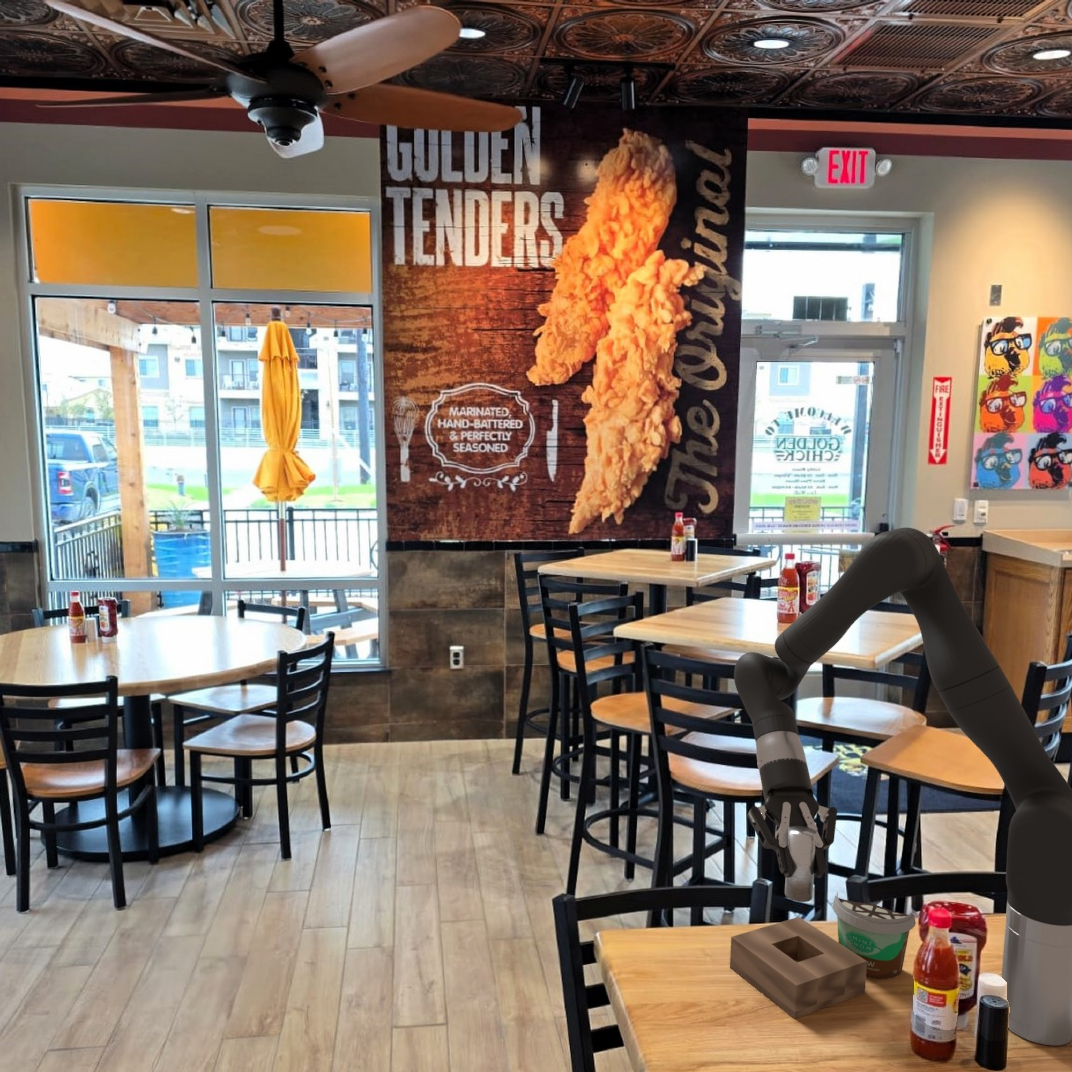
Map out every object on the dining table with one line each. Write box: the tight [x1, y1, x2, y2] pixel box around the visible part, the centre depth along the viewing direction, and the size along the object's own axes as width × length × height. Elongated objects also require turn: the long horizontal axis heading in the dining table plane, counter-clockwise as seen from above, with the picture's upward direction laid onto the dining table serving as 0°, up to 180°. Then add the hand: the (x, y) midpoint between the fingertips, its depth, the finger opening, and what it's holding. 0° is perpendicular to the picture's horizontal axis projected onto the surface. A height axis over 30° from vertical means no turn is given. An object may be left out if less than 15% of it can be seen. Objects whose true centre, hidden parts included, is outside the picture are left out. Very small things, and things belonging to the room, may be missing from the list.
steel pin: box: [784, 825, 816, 903], centre depth 133 cm, size 4×4×10 cm
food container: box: [832, 891, 917, 980], centre depth 138 cm, size 12×6×10 cm, turn 62°
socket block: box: [729, 916, 867, 1020], centre depth 136 cm, size 14×14×5 cm
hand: (804, 875), depth 131 cm, fingers closed on steel pin, 4 cm apart
